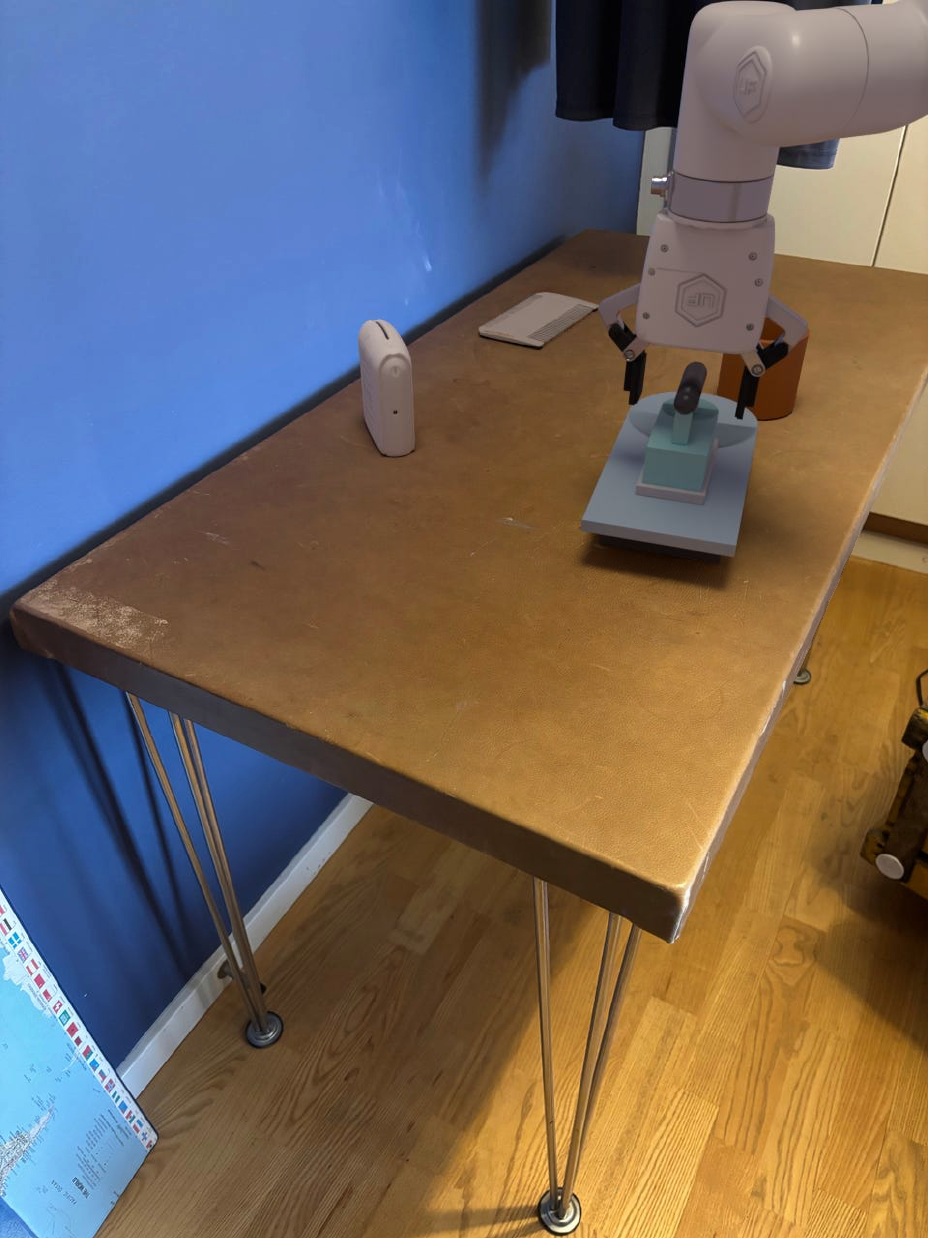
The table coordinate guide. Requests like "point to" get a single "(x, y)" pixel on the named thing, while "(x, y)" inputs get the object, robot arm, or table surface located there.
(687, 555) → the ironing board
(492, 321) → the grooming comb
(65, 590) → the table surface
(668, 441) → the iron
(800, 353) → the brown cup
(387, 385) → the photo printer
